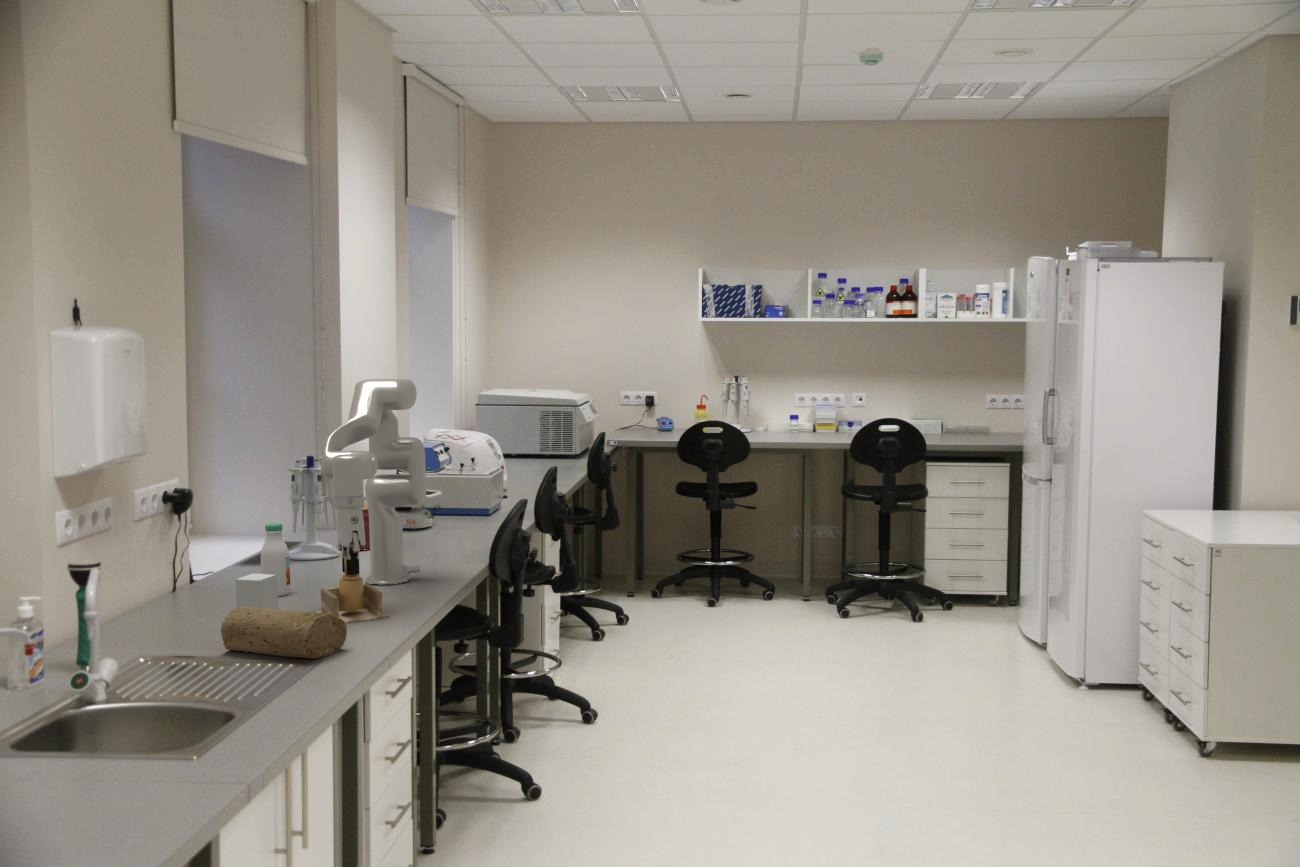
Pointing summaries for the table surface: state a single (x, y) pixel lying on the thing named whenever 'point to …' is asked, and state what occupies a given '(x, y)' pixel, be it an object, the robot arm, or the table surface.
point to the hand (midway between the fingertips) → (351, 572)
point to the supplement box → (257, 591)
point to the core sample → (283, 632)
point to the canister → (366, 528)
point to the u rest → (370, 610)
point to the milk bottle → (276, 557)
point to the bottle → (350, 590)
